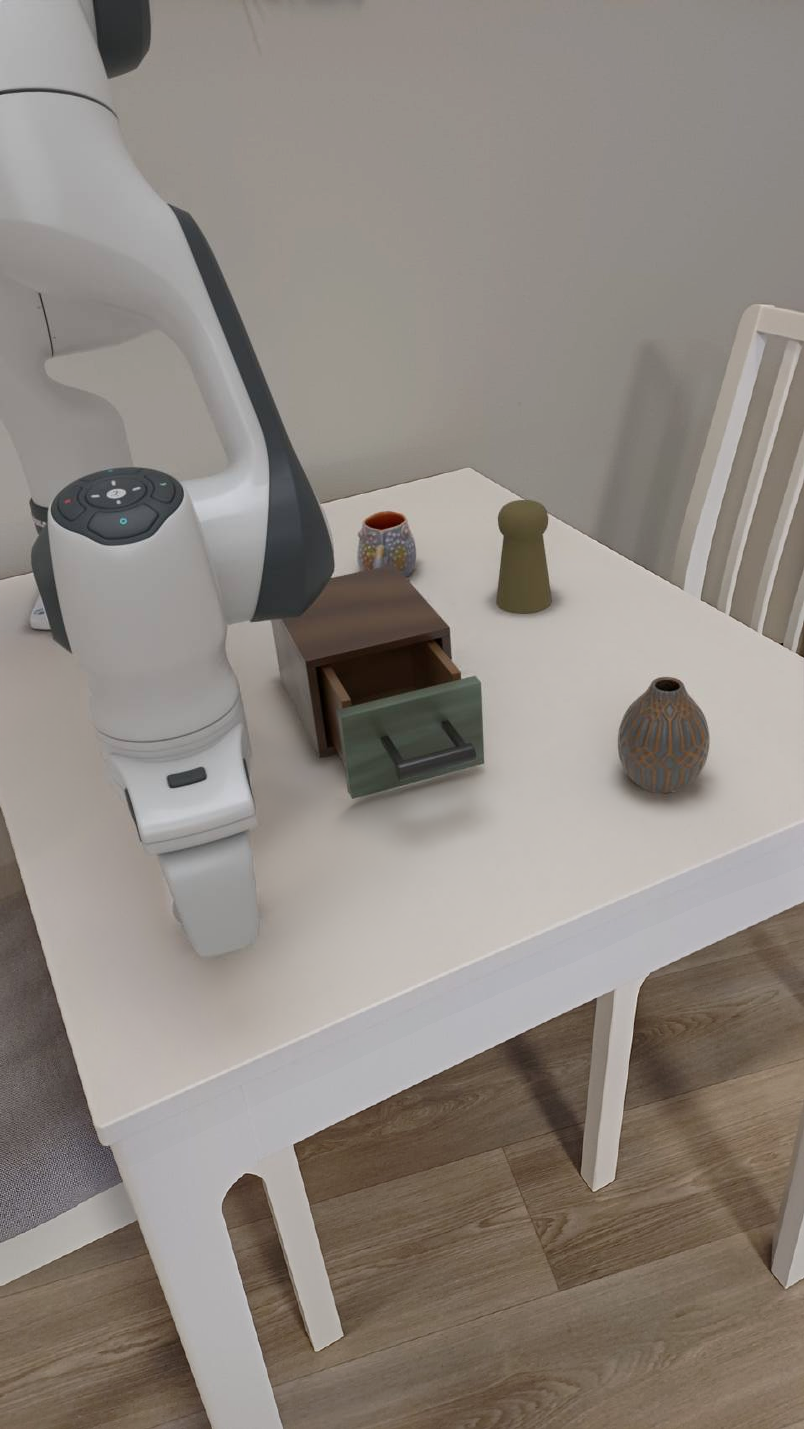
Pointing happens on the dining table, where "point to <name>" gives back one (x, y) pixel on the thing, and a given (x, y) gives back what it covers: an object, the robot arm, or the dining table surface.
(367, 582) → the cabinet
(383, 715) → the drawer
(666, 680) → the vase
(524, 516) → the olive green pawn
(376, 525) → the grey decorated pot
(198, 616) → the robot arm
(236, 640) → the dining table surface
